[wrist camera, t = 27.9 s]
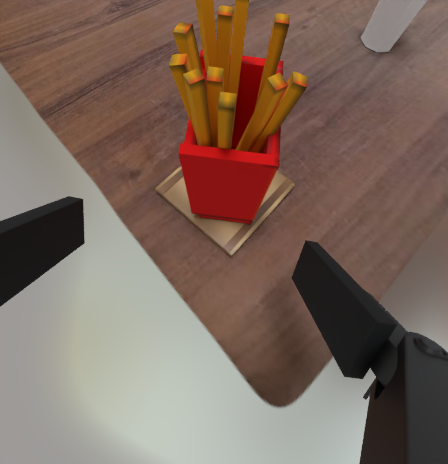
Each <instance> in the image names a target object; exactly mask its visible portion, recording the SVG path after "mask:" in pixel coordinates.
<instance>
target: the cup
mask: <svg viewBox="0 0 448 464" xmlns="http://www.w3.org/2000/svg"><path fill="white" fill-rule="evenodd" d="M426 1H427V0H380V1H379V3H378V5H377V7H376V9H375V11H374V13H373V15H372V17H371V19H370V21H369V23H368V25H367V27H366V29H365V31H364V32H363V34H362V36H361V40H362V42H363V44H364V45H365V47H367V48H369V49H371V50H373V51H375V52H389V51H390V49H391V48H392V47H393V45H394V44H395V42H396V41H397V40H398V38H399V37H400V36H401V34H402V33H403V32H404V30H405V29H406V28H407V27H408V25H409V24H410V23H411V21H412V20H413V19H414V17H415V16H416V15H417V13H418V12H419V11H420V9H421V8H422V7H423V5H424V4H425V3H426Z"/></svg>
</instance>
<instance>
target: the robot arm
mask: <svg viewBox="0 0 448 464" xmlns="http://www.w3.org/2000/svg"><path fill="white" fill-rule="evenodd" d="M83 244H84V216H83V199H80V198H74V197H69V196H68V197H66V198H63V199H60V200H58V201H55V202H52V203H49V204H46V205H44V206H41V207H38V208H35V209H33V210H30V211H27V212H24V213H22V214H19V215H16V216H13V217H11V218H8V219H5V220H3V221H0V306H2V305H3V304H4V303H5V302H7V301H8V300H9V299H11V298H12V297H14V296H15V295H16V294H18V293H19V292H20V291H22V290H23V289H24V288H26V287H27V286H28V285H30V284H31V283H32V282H34V281H35V280H36V279H38V278H39V277H40V276H41V275H43V274H44V273H45V272H47V271H48V270H49V269H51V268H52V267H53V266H55V265H56V264H57V263H59V262H60V261H61V260H63V259H64V258H65V257H67V256H68V255H69V254H70V253H72V252H73V251H74V250H76V249H77V248H79V247H80V246H81V245H83ZM292 279H293V281H294V283H295V285H296V287H297V289H298V291H299V293H300V294H301V296H302V298H303V300H304V302H305V304H306V306H307V308H308V310H309V311H310V313H311V315H312V317H313V319H314V321H315V323H316V325H317V326H318V328H319V330H320V332H321V334H322V336H323V338H324V340H325V341H326V343H327V345H328V347H329V349H330V351H331V353H332V355H333V356H334V358H335V360H336V362H337V364H338V366H339V367H340V369H341V371H342V373H343V375H344V377H351V378H359V379H363V378H364V376H365V375H366V373H367V372H368V370H369V368H371V370H372V371H373V372H374V374H375V376H376V379H375V380H374V381H373V383H372V384H371V386H370V387H369V389H368V390H367V392H366V393H365V395H364V397H363V398H365V399H367V398H368V396H370V400H369V406H368V412H367V419H366V426H365V431H364V439H363V444H362V451H361V457H360V464H448V353H447V352H446V351H445V350H444V349H443V348H442V347H441V346H439V345H438V344H437V343H435V342H434V341H432V340H430V339H429V338H427V337H425V336H423V335H420V334H418V333H413V332H407V331H406V330H405V329H404V328H403V327H402V326H401V325H400V324H399V323H398V321H396V320H395V318H394V317H392V316H391V314H389V312H388V311H385V308H383V307H382V305H381V304H379V302H378V301H377V300H376V299H375V298H374V297H373V296H372V295H371V294H369V293H368V292H366V291H365V290H363V289H362V288H361V287H360V286H359V285H358V284H357V283H356V282H355V281H354V280H353V278H352V277H351V276H350V275H349V274H348V273H347V272H346V271H345V270H344V269H343V268H342V267H341V266H340V265H339V264H338V263H337V262H336V261H335V260H334V259H333V258H332V257H331V256H330V255H329V254H328V253H327V252H326V251H325V250H324V249H323V248H322V247H321V246H320V245H319V244H318V243H317V242H312V241H305V244H304V246H303V249H302V252H301V254H300V257H299V260H298V262H297V265H296V268H295V270H294V273H293V276H292Z"/></svg>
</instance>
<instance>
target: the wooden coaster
mask: <svg viewBox="0 0 448 464" xmlns="http://www.w3.org/2000/svg"><path fill="white" fill-rule="evenodd" d="M294 186H295V184H294V183H293V181H291V180H290V179H289V178H286V177H285V176H283V175H282V174H281V173H279V172H278V171H277V172H276V174H275V176H274V178H273V180H272V182H271V184H270V186H269V189H268V191H267V193H266V195H265V197H264V199H263V201H262V203H261V205H260V207H259V209H258V212H257V214H256V216H255V218H254V220H253V222H252V224H247V223H239V222H231V221H223V220H215V219H207V218H200V216H199V215H198V214H192V213H191V208H190V204H189V199H188V194H187V190H186V185H185V181H184V176H183V172H182V167H181V166H180V167H179V168H178V169H177V170H176V171H174V172H173V173H172V174H171V175H170V176H169V177H167V178H166V179H165V180H164V181H163V182H162V183H161V184H159V185H158V186H157V187H156V188H155V190H156V192H157V193H158V194H159V195H160V196H162V197H163V198H164V199H165V200H166V201H167V202H168V203H170V204H171V205H172V206H173V207H174V208H175V209H176V210H178V211H179V212H180V213H181V214H182V215H183V216H184V217H186V218H187V219H188V220H189V221H190V222H191V223H193V224H194V225H195V226H196V227H197V228H198V229H199V230H201V231H202V232H203V233H204V234H205V235H206V236H207V237H209V238H210V239H211V240H212V241H213V242H214V243H215V244H217V245H218V246H219V247H220V248H221V249H222V250H223V251H225V252H226V253H227V254H228V255H229V256H230V257H232V256H233V255H234V254H235V253H236V251H237V250H238V249H239V248H240V247H241V246H242V245H243V244H244V242H245V241H246V240H247V239H248V238H249V237H250V236H251V235H252V233H253V232H254V231H255V230H256V229H257V228H258V227H259V226H260V225H261V223H262V222H263V221H264V220H265V219H266V218H267V217H268V216H269V214H270V213H271V212H272V211H273V210H274V209H275V208H276V207H277V205H278V204H279V203H280V202H281V201H282V200H283V199H284V198H285V197H286V195H287V194H288V193H289V192H290V191H291V190H292V189H293V187H294Z"/></svg>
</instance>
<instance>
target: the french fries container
mask: <svg viewBox="0 0 448 464" xmlns="http://www.w3.org/2000/svg"><path fill="white" fill-rule="evenodd" d="M248 3H249V0H235V11H234V23H233V35H232V22H233V8H234V7H228V6H221V5H219V10H218V28H217V40H216V29H215V18H214V8H213V0H196V6H197V13H198V20H199V27H200V34H201V41H202V48H203V50H201V52H200V57H199V53H198V48H197V43H196V38H195V34H194V29H193V24H188V23H181V22H180V23H179V24H178V25H177V27H176V28H175V30H174V31H173V34H174V37H175V41H176V44H177V48H178V51H179V54H176V55H172V58H171V61H170V65H169V66H170V69H171V71H172V74H173V77H174V79H175V82H176V85H177V87H178V90H179V92H180V95H181V98H182V100H183V103H184V106H185V108H186V111H187V113H188V116H189V122H188V127H187V132H186V136H185V141H184V143H181V144H180V149H179V158H180V162H181V167H182V172H183V176H184V181H185V185H186V190H187V194H188V199H189V204H190V208H191V213H192V214H198V215H199V216H200V218H207V219H215V220H223V221H231V222H239V223H247V224H252V222H253V220H254V218H255V216H256V214H257V212H258V209H259V207H260V205H261V203H262V201H263V199H264V197H265V195H266V193H267V191H268V189H269V186H270V184H271V182H272V180H273V178H274V176H275V174H276V172H277V170H278V168H279V156H280V132H281V124H282V123H283V121H284V120H285V118H286V117H287V115H288V114H289V113H290V111H291V110H292V108H293V107H294V105H295V104H296V102H297V101H298V99H299V98H300V97H301V95H302V94H303V92H304V91H305V89H306V88H307V76H304V75H302V74H299V73H297V72H294V71H293V72H292V74H291V76H290V78H289V79H288V81H287V82H286V81H285V79H284V78H283V61H279V60H280V56H281V53H282V49H283V45H284V42H285V38H286V34H287V31H288V27H289V19H290V15H287V14H279V13H276V14H275V18H274V23H273V27H272V32H271V37H270V41H269V46H268V51H267V55H266V59H264V58H256V57H249V56H242V53H243V45H244V37H245V28H246V20H247V12H248ZM231 36H232V47H231ZM230 50H231V54H230Z"/></svg>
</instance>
